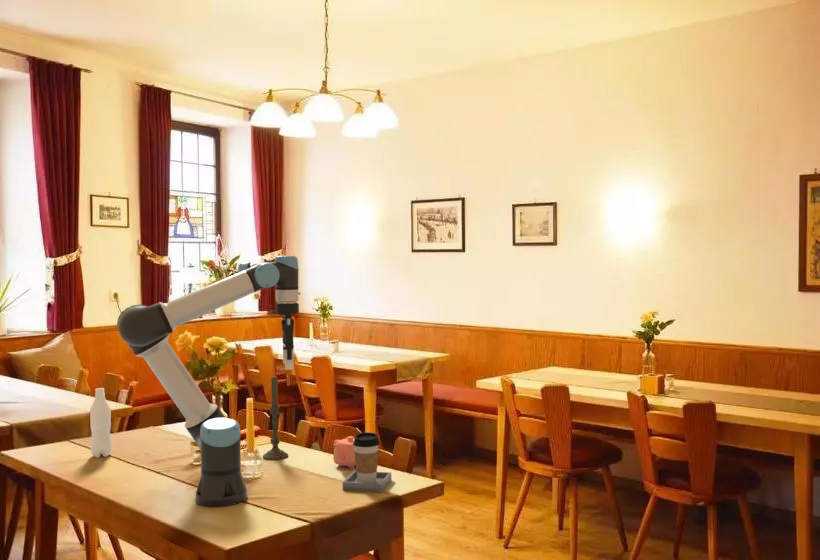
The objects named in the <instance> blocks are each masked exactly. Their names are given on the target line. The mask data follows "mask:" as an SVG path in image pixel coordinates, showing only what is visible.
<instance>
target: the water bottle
mask: <svg viewBox="0 0 820 560" xmlns="http://www.w3.org/2000/svg"><path fill="white" fill-rule="evenodd" d="M105 395H106V393H105V388H104V387H97V388H95V393H94V396H95V398H94V400H93V402H92V404H91V407H90V409H89V417H90V418H89V419H90V421H89V422H90V432H91V442H90V453H91V454H92V456H93V457H95V458H99V459H100V457H101V455H102V456H103V458H106V457H108V456H109V455H110V454H111V452H112V449H113V446H112V445H113V444H112V440H111V427H112V420H111V419H112V418H111V417H112V415H111V413H112V412H111V411H112V410H111V409H112V408H111V406H110V404H109V403H108V400H107V399H106V396H105Z"/></svg>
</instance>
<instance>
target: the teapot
mask: <svg viewBox="0 0 820 560" xmlns="http://www.w3.org/2000/svg"><path fill="white" fill-rule="evenodd" d="M354 439H355V436H352V435H349V436H347V437H346V438H343V439H335V440H334V441H333V444H332V446H334V450H333V457H332V458H333V462H334V464H335V465H336V464H337V467H338V468H342V467H344V466H345V467H348V469H349V470H354V469H355V470H356V462H355V453H354V451H355V446H354V445H353V442H354Z"/></svg>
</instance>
